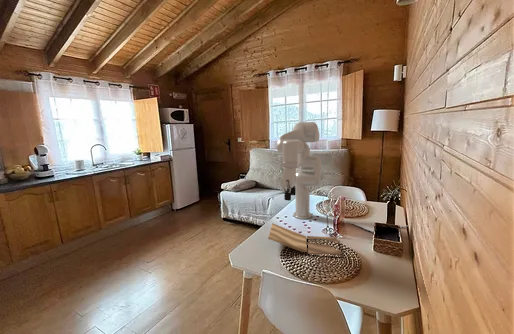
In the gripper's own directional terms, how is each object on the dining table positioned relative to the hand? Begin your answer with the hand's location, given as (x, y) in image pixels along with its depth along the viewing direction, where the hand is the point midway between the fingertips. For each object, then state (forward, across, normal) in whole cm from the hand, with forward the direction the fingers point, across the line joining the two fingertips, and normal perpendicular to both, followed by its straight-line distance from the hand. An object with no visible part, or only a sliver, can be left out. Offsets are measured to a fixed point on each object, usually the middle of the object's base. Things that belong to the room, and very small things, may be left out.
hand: (290, 197), depth 124 cm
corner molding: (+27, -47, +42) cm, 69 cm away
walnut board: (+26, -3, +17) cm, 31 cm away
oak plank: (+22, +1, -1) cm, 23 cm away
